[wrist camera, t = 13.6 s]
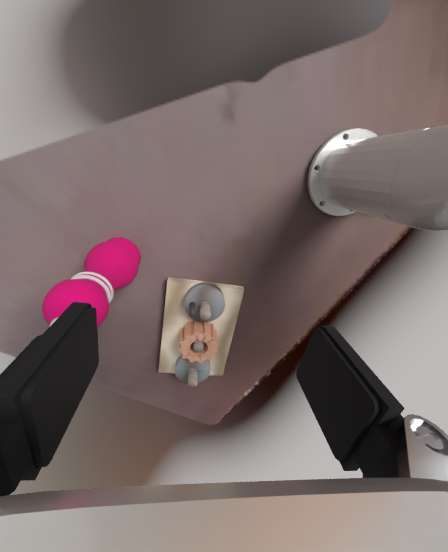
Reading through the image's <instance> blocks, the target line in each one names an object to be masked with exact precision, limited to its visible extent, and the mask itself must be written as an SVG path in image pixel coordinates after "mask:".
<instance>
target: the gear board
mask: <svg viewBox="0 0 448 552" xmlns="http://www.w3.org/2000/svg"><path fill="white" fill-rule="evenodd" d="M243 294H244V287H243V286H237V285H229V284H221V283H212V282H204V281H196V280H188V279H179V278H171V277H168V280H167V289H166V299H165V310H164V320H163V330H162V340H161V350H160V361H159V371H158V373H175V374H176V377H177V378H178V379H179V380H180V381H182V382H184V383H188V385H189V386H190V387H195V386H197V383H200V382H202V381H204V380H205V379H207V377H208V376H209V375H220V376H223V372H224V368H225V364H226V360H227V356H228V353H229V349H230V345H231V341H232V337H233V333H234V329H235V325H236V321H237V317H238V313H239V310H240V306H241V302H242V298H243ZM194 320H195V321H198V322H208V323H209V324H212V323H213V325H214V326H215V330H217V337H218V346H219V347H217V351H218V352H217V354H216V355H215V354H213V355H212V359H210V360H208V359H206V360H204V361H203V363H199V361H194V362H193V363H192V362H189V359H187V358H185V359H184V358H182V352H179V350H178V348H179V338H180V330H181V328H182V327H183V328H184V327H185V323H187V322H188V321H189V322H193V321H194ZM202 350H203V341H195V342H194V351H196V352H201V351H202Z"/></svg>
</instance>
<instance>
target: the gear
mask: <svg viewBox="0 0 448 552" xmlns="http://www.w3.org/2000/svg"><path fill="white" fill-rule="evenodd" d="M195 341H203V350H202V351H201V352H196V351H194V342H195ZM217 347H219V346H218V337H217V330H215V326H214V325H213V323H212V324H209V323H208V322H198V321H195V320H194V321H193V322H189V321H188V322H187V323H185V327H184V328H183V327H182V328H181V330H180V338H179V348H178V350H179V352H182V358H184V359H185V358H187V359H189V362H192V363H193V362H194V361H199V363H203V361H204V360H206V359H208V360H210V359H212V355H213V354H215V355H216V354H217V352H218V351H217Z"/></svg>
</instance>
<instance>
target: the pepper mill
mask: <svg viewBox="0 0 448 552" xmlns="http://www.w3.org/2000/svg"><path fill="white" fill-rule="evenodd" d="M140 259H141V257H140V252H139V250H138V248H137V247H136V245H135V244H134V243H132V242H131V241H129V240H127V239H124V238H112V239H110V240H108V241H107V242H103V243H100V244H98V245H96V246H95V247H94V248H92V250H91V251H90V252H89V253H88V255H87V257H86V260H85V264H84V268H85V270H84V272H81V273H78V274H76V275H74V276H73V277H72V278H71V279H69V280H65V281H63V282H60V283H58V284H57V285H55V286H54V287H53V288H52V289H51V290H50V291H49V292H48V293H47V295H46V296H45V298H44V301H43V304H42V312H43V316H44V318H45V320H46V321H47V323H48V324H49V325H50V326H51V325H52V324H53V323H54V322H55V321H56V320H57V319H58V317H59V316H60V315H61V314H62V313H63V312H64V311H65V310H66V309H67V308H68V307H69V305H70V304H71V303H73V302H81V303H90V304H91V305H92V307H94V308H96V311H97V327H98V326H100V325H101V323H102V322H103V321H104V320H105V318H106V317H107V314H108V312H109V303H110V302H111V300H112V298H113V291H114V290H117V289H121V288H123V287H125V286H127V285H128V284H130V283H131V282H132V281H133V279H134V278H135V277H136V275H137V272H138V265H139V263H140Z"/></svg>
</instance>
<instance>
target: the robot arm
mask: <svg viewBox="0 0 448 552" xmlns="http://www.w3.org/2000/svg"><path fill="white" fill-rule="evenodd" d="M315 167H316V169H314V168H315ZM308 191H309V195H310V198H311V200H312V202H313V203H314V205H315V206H316V207H317V208H318V209H319V210H321V211H323V212H324V213H327V214H329V215H334V216H345V215H350V214H352V213H355V212H360V213H363V214H367V215H371V216H374V217H378V218H382V219H385V220H389V221H392V222H396V223H400V224H403V225H407V226H411V227H415V228H419V229H424V230H432V231H440V230H448V124H446V125H441V126H434V127H429V128H423V129H417V130H412V131H406V132H400V133H395V134H389V135H383V136H377V135H376V134H375V133H374V132H372V131H369V130H367V129H362V128H354V129H348V130H345V131H342V132H340V133H337V134H335V135H334V136H332V137H331V138H330V139H328V140H327V141H326V142H325V143H324V144H323V145H322V146H321V147H320V149H319V150H318V151H317V153H316V155H315V157H314V158H313V160H312V163H311V166H310V168H309V173H308ZM320 202H321V203H320ZM98 362H99V355H98V333H97V311H96V308H94V307H92V305H91V304H90V303H81V302H73V303H71V304H70V305H69V307H68V308H67V309H66V310H65V311H64V312H63V313H62V314H61V315H60V316H59V317H58V319H57V320H56V321H55V322H54V323H53V324H52V325H51V326H50V327H49V328H48V329H47V330H46V332H45V333H44V334H43V335H40V336H37V337H36V338H35V339H34V340H33V341H32V342H31V343H30V344H29V345H28V346H27V347H26V348H25V349H24V350H23V351H22V352H21V353H20V354H19V356H18V357H17V358H16V359H15V360H14V361H13V362H12V363H11V364H10V365H9V366H8V367H7V368H6V369H5V370H4V371H3V373H1V375H0V552H448V435H447V434H446V433H445V432H444V431H443V430H441V429H440V428H439V427H438V426H436V425H435V424H433V423H432V422H430V421H429V420H427V419H425V418H422V417H420V416H417V415H413V414H412V415H407V416H406V417H405V418H403V417H402V416H401V412H402V411H403V410H404V407H403V406H402V405H401V404H400V403H399V402H398V401H397V399H396V398H395V397H394V396H393V395H392V393H390V391H389V390H388V389H387V388H386V386H385V385H384V384H383V383H382V382H381V381H380V380H379V378H378V377H377V376H376V375H375V374H374V373H373V371H372V370H371V369H370V368H369V367H368V366H367V364H366V363H365V362H364V361H363V360H362V359H361V358H360V356H359V355H358V354H357V353H356V352H355V351H354V350H353V348H352V347H351V346H350V345H349V344H348V342H347V341H346V340H345V339H344V338H343V337H342V336H341V334H340V333H339V332H338V331H337V330H336V329H335V328H334V327H332V326H319V327H318V328H316V329H315V330H314V333H313V335H312V337H311V339H310V342H309V344H308V346H307V349H306V351H305V353H304V355H303V358H302V360H301V363H300V365H299V367H298V369H297V379H298V381H299V383H300V386H301V387H302V389H303V392H304V394H305V396H306V398H307V400H308V402H309V404H310V406H311V409H312V411H313V413H314V415H315V417H316V419H317V421H318V423H319V425H320V427H321V429H322V432H323V434H324V436H325V438H326V440H327V442H328V444H329V446H330V448H331V450H332V453H333V454H334V456H335V458H336V459H337V460H339V461H340V463H341V465H342V467H343V470H344V471H355V470H356V471H357V470H358V469H359V467H360V469H361V471H362V473H363V478H350V479H318V480H286V481H258V482H231V483H204V484H180V485H158V486H157V485H156V486H133V487H111V488H110V487H109V488H93V489H77V490H60V491H47V492H45V491H44V492H35V493H27V494H17V495H10V494H11V493H12V492H13V491H15V489H16V488H17V486H18V484H19V482H20V481H21V480H35V479H36V477H37V475H38V473H39V471H40V469H41V468H42V467H46V466H47V465H48V464H49V463H50V461H51V460H52V458H53V456H54V454H55V451H56V450H57V448H58V445H59V444H60V442H61V439H62V438H63V436H64V434H65V432H66V430H67V428H68V425H69V424H70V422H71V419H72V417H73V415H74V413H75V411H76V409H77V407H78V405H79V403H80V401H81V399H82V397H83V395H84V393H85V391H86V389H87V387H88V385H89V383H90V381H91V379H92V377H93V375H94V373H95V371H96V369H97V366H98Z"/></svg>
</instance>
